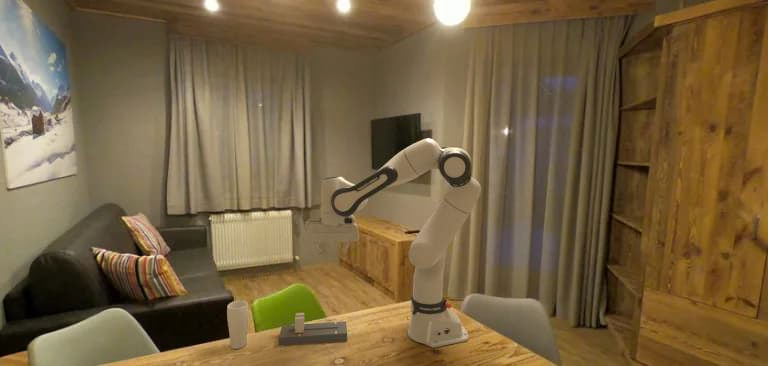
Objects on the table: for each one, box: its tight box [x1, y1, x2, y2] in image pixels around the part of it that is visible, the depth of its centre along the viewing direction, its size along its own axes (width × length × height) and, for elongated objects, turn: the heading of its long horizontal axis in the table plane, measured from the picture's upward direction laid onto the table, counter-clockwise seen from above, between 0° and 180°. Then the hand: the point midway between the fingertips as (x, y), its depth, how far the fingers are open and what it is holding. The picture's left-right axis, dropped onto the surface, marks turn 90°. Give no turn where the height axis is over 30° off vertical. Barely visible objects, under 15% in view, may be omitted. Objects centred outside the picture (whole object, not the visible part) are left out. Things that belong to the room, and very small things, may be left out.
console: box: [278, 321, 348, 347], centre depth 133 cm, size 24×9×3 cm, turn 99°
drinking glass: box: [226, 300, 249, 350], centre depth 126 cm, size 7×7×15 cm
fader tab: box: [294, 312, 305, 333], centre depth 132 cm, size 3×5×5 cm, turn 9°
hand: (332, 253), depth 140 cm, fingers open, 8 cm apart
